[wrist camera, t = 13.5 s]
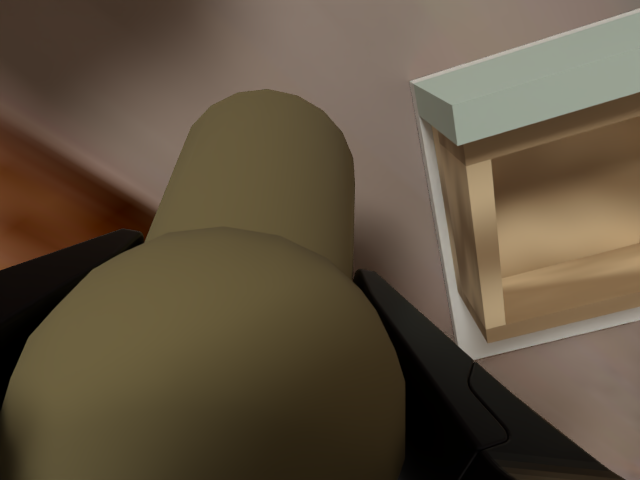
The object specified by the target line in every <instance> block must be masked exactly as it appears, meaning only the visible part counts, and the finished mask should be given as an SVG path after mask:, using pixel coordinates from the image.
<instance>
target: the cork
mask: <svg viewBox="0 0 640 480" xmlns="http://www.w3.org/2000/svg"><path fill="white" fill-rule="evenodd" d="M354 201H355V178H354V163H353V156H352V154H351V152H350V149H349V147H348V145H347V142H346V140H345V137H344V135H343V133H342V131H341V130H340V129H339V128H338V127H337V126H336V125H335V123H334V122H333V121H332V120H331V119H330V118H329V117H328V115H327V114H326V113H325V112H324V111H323V110H321V109H320V108H318V107H316V106H314V105H313V104H311V103H309V102H308V101H306V100H304V99H303V98H301V97H299V96H297V95H293V94H288V93H283V92H279V91H274V90H269V89H264V90H256V91H248V92H239V93H236V94H234V95H232V96H230V97H228V98H226V99H224V100H222V101H220V102H218V103H216V104H214V105H212V106H210V107H209V108H208V110H207V111H206V112H205V113H204V114H203V115H202V116H201V117H200V118H199V119H198V120H197V121H196V122H195V123H194V124H193V125H192V127H191V129H190V131H189V134H188V136H187V139H186V141H185V143H184V146H183V148H182V151H181V153H180V155H179V158H178V160H177V163H176V165H175V168H174V170H173V173H172V175H171V178H170V180H169V183H168V185H167V188H166V190H165V193H164V195H163V198H162V200H161V203H160V205H159V208H158V210H157V213H156V215H155V218H154V220H153V223H152V225H151V228H150V230H149V233H148V235H147V238H146V240H145V243H143V244H141V245H139V246H136V247H134V248H132V249H130V250H127V251H125V252H123V253H121V254H119V255H117V256H115V257H114V258H112V259H110V260H108V261H107V262H105V263H103V264H101V265H100V266H98V267H96V268H94V269H93V270H91V271H90V273H89V274H88V275H87V276H86V277H85V278H84V279H83V280H82V281H81V282H80V283H79V284H78V285H77V286H76V287H75V288H74V289H73V290H72V291H71V292H70V293H69V294H68V295H67V296H66V297H65V298H64V299H63V300H62V301H61V302H60V303H59V304H58V305H57V306H56V307H55V308H54V309H53V310H52V311H51V313H50V314H49V315H48V316H47V317H46V318H45V319H44V320H43V322H42V323H41V324H40V325H39V326H38V327H37V328H36V329H35V331H34V332H33V333H32V334H31V335H30V336H29V337H28V340H27V342H26V344H25V346H24V349H23V351H22V353H21V356H20V358H19V360H18V362H17V365H16V367H15V369H14V372H13V374H12V376H11V378H10V382H9V385H8V388H7V392H6V395H5V398H4V402H3V405H2V408H1V412H0V479H1V480H398V477H399V474H400V471H401V469H402V466H403V463H404V461H405V380H404V376H403V373H402V370H401V367H400V363H399V360H398V357H397V354H396V351H395V348H394V346H393V344H392V342H391V340H390V338H389V336H388V334H387V332H386V330H385V328H384V326H383V323H382V321H381V319H380V317H379V315H378V313H377V311H376V309H375V308H374V307H373V305H372V304H371V303H370V301H369V300H368V299H367V297H366V296H365V294H364V293H363V292H362V290H361V289H360V288H359V287H358V286H357V285H355V284H354V283H353V242H354Z"/></svg>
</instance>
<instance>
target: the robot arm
mask: <svg viewBox="0 0 640 480" xmlns="http://www.w3.org/2000/svg"><path fill="white" fill-rule="evenodd" d="M143 243H144V237H143V234H142V233H141V232H139V231H134V230H129V229H120V230H117V231H114V232H111V233H108V234H105V235H102V236H99V237H97V238H94V239H91V240H88V241H85V242H82V243H79V244H76V245H73V246H70V247H67V248H64V249H61V250H58V251H56V252H53V253H50V254H47V255H44V256H41V257H38V258H35V259H32V260H29V261H26V262H23V263H20V264H18V265H15V266H12V267H9V268H6V269H3V270H0V412H1V408H2V405H3V402H4V398H5V395H6V392H7V388H8V385H9V382H10V378H11V376H12V374H13V372H14V369H15V367H16V365H17V362H18V360H19V358H20V356H21V353H22V351H23V349H24V346H25V344H26V342H27V340H28V337H29V336H30V335H31V334H32V333H33V332H34V331H35V329H36V328H37V327H38V326H39V325H40V324H41V323H42V322H43V320H44V319H45V318H46V317H47V316H48V315H49V314H50V313H51V311H52V310H53V309H54V308H55V307H56V306H57V305H58V304H59V303H60V302H61V301H62V300H63V299H64V298H65V297H66V296H67V295H68V294H69V293H70V292H71V291H72V290H73V289H74V288H75V287H76V286H77V285H78V284H79V283H80V282H81V281H82V280H83V279H84V278H85V277H86V276H87V275H88V274H89V273H90V271H91V270H93V269H94V268H96V267H98V266H100V265H101V264H103V263H105V262H107V261H108V260H110V259H112V258H114V257H115V256H117V255H119V254H121V253H123V252H125V251H127V250H130V249H132V248H134V247H136V246H139V245H141V244H143ZM353 283H354V284H355V285H357V286H358V287H359V288H360V289H361V290H362V292H363V293H364V294H365V296H366V297H367V299H368V300H369V301H370V303H371V304H372V305H373V307H374V308H375V309H376V311H377V313H378V315H379V317H380V319H381V321H382V323H383V326H384V328H385V330H386V332H387V334H388V336H389V338H390V340H391V342H392V344H393V346H394V348H395V351H396V354H397V357H398V360H399V363H400V367H401V370H402V373H403V376H404V380H405V461H404V463H403V466H402V469H401V471H400V474H399V477H398V480H625V479H624V478H622V477H620V476H619V475H617V474H615V473H614V472H612V471H611V470H609V469H608V468H607V467H605V466H604V465H602V464H601V463H600V462H598V461H597V460H596V459H595V458H593V457H592V456H591V455H590V454H588V453H587V452H586V451H584V450H583V449H582V448H581V447H579V446H578V445H577V444H575V443H574V442H573V441H572V440H570V439H569V438H568V437H567V436H565V435H564V434H563V433H561V432H560V431H559V430H558V429H556V428H555V427H554V426H553V425H551V424H550V423H549V422H547V421H546V420H545V419H544V418H542V417H541V416H540V415H538V414H537V413H536V412H535V411H533V410H532V409H531V408H530V407H528V406H527V405H526V404H525V403H523V402H522V401H521V400H520V399H519V398H517V397H516V396H515V395H514V394H512V393H511V392H510V391H509V390H508V389H506V388H505V387H504V386H503V385H502V384H501V383H499V382H498V381H497V380H496V379H495V378H494V377H492V376H491V375H490V374H489V373H488V372H487V371H486V370H485V369H483V368H482V367H481V366H480V365H479V364H478V363H477V362H474V360H473V359H472V358H471V357H470V356H469V355H468V354H467V353H465V352H464V351H463V350H462V349H461V348H460V347H459V346H458V345H456V344H455V343H454V342H453V341H452V340H451V339H450V338H449V337H447V336H446V335H445V334H444V333H443V332H442V331H441V330H440V329H439V328H437V327H436V326H435V325H434V324H433V323H432V322H431V321H430V320H428V319H427V318H426V317H425V316H424V315H423V314H422V313H421V312H419V311H418V310H417V309H416V308H415V307H414V306H413V305H412V304H411V303H409V302H408V301H407V300H406V299H405V298H404V297H403V296H402V295H400V294H399V293H398V292H397V291H396V290H395V289H394V288H393V287H391V286H390V285H389V284H388V283H387V282H386V281H385V280H384V279H382V278H381V277H380V276H379V275H378V274H377V273H376V272H374V271H369V270H363V269H359V270H357V271H356V273H355V276H354V279H353ZM473 362H474V363H473ZM0 480H1V479H0Z"/></svg>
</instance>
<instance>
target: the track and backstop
mask: <svg viewBox="0 0 640 480" xmlns="http://www.w3.org/2000/svg"><path fill="white" fill-rule="evenodd" d="M409 83H410V88H411V94H412V100H413V105H414V111H415V117H416V122H417V128H418V134H419V140H420V145H421V151H422V157H423V162H424V168H425V174H426V179H427V185H428V191H429V196H430V202H431V208H432V214H433V219H434V225H435V231H436V236H437V242H438V248H439V253H440V259H441V265H442V270H443V276H444V282H445V287H446V293H447V299H448V305H449V310H450V316H451V322H452V327H453V333H454V339H455V344H456V345H458V346H459V347H460V348H461V349H462V350H463V351H464V352H465V353H467V354H468V355H469V356H470V357H471V358H472V359H473V360H476V359H480V358H484V357H488V356H492V355H497V354H501V353H505V352H509V351H513V350H517V349H522V348H526V347H530V346H534V345H538V344H542V343H547V342H551V341H555V340H559V339H563V338H567V337H572V336H576V335H580V334H584V333H588V332H592V331H597V330H601V329H605V328H609V327H613V326H617V325H622V324H626V323H630V322H634V321H638V320H640V307H636V308H632V309H628V310H624V311H620V312H615V313H611V314H607V315H603V316H599V317H595V318H591V319H587V320H583V321H578V322H574V323H570V324H566V325H562V326H558V327H554V328H550V329H546V330H541V331H537V332H533V333H529V334H525V335H521V336H517V337H513V338H509V339H504V340H500V341H496V342H492V343H487V342H486V340H485V338H484V336H483V335H482V333H481V331H480V330H479V328H478V326H477V324H476V323H475V321H474V319H473V317H472V316H471V314H470V312H469V310H468V309H467V307H466V305H465V304H464V302H463V300H462V298H461V297H460V295H459V293H458V290H457V284H456V278H455V271H454V265H453V259H452V252H451V246H450V240H449V233H448V227H447V221H446V214H445V208H444V202H443V195H442V189H441V183H440V176H439V170H438V164H437V157H436V151H435V145H434V138H433V132H432V126H433V127H434V128H436V129H437V130H438V131H439V132H441V133H442V134H443V135H444V136H446V137H447V138H448V139H449V140H451V141H452V142H453V143H454V144H456V145H457V146H459V145H463V144H466V143H469V142H473V141H476V140H479V139H483V138H486V137H490V136H493V135H496V134H500V133H503V132H506V131H510V130H513V129H517V128H520V127H523V126H527V125H530V124H533V123H537V122H540V121H544V120H547V119H550V118H554V117H557V116H560V115H564V114H567V113H571V112H574V111H577V110H581V109H584V108H587V107H591V106H594V105H598V104H601V103H604V102H608V101H611V100H614V99H618V98H621V97H625V96H628V95H631V94H635V93H638V92H640V8H639V9H636V10H633V11H630V12H627V13H623V14H620V15H617V16H614V17H611V18H608V19H605V20H601V21H598V22H595V23H592V24H589V25H586V26H582V27H579V28H576V29H573V30H570V31H567V32H563V33H560V34H557V35H554V36H551V37H548V38H545V39H541V40H538V41H535V42H532V43H529V44H526V45H522V46H519V47H516V48H513V49H510V50H507V51H503V52H500V53H497V54H494V55H491V56H488V57H485V58H481V59H478V60H475V61H472V62H469V63H466V64H462V65H459V66H456V67H453V68H450V69H447V70H444V71H440V72H437V73H434V74H431V75H428V76H425V77H421V78H418V79H415V80H412V81H409ZM431 125H432V126H431Z"/></svg>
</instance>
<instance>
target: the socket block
mask: <svg viewBox="0 0 640 480" xmlns="http://www.w3.org/2000/svg"><path fill="white" fill-rule="evenodd" d="M431 126H432V125H431ZM432 132H433V138H434V145H435V151H436V157H437V164H438V170H439V176H440V183H441V189H442V195H443V202H444V208H445V214H446V221H447V227H448V233H449V240H450V246H451V252H452V259H453V265H454V271H455V278H456V284H457V290H458V293H459V295H460V297H461V298H462V300H463V302H464V304H465V305H466V307H467V309H468V310H469V312H470V314H471V316H472V317H473V319H474V321H475V323H476V324H477V326H478V328H479V330H480V331H481V333H482V335H483V336H484V338H485V340H486V342H487V343H492V342H496V341H500V340H504V339H509V338H513V337H517V336H521V335H525V334H529V333H533V332H537V331H541V330H546V329H550V328H554V327H558V326H562V325H566V324H570V323H574V322H578V321H583V320H587V319H591V318H595V317H599V316H603V315H607V314H611V313H615V312H620V311H624V310H628V309H632V308H636V307H640V92H638V93H635V94H631V95H628V96H625V97H621V98H618V99H614V100H611V101H608V102H604V103H601V104H598V105H594V106H591V107H587V108H584V109H581V110H577V111H574V112H571V113H567V114H564V115H560V116H557V117H554V118H550V119H547V120H544V121H540V122H537V123H533V124H530V125H527V126H523V127H520V128H517V129H513V130H510V131H506V132H503V133H500V134H496V135H493V136H490V137H486V138H483V139H479V140H476V141H473V142H469V143H466V144H463V145H459V146H457V145H456V144H454V143H453V142H452V141H451V140H449V139H448V138H447V137H446V136H444V135H443V134H442V133H441V132H439V131H438V130H437V129H436V128H434V127H433V126H432Z"/></svg>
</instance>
